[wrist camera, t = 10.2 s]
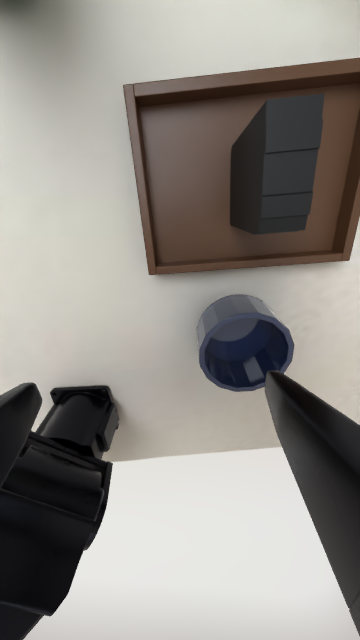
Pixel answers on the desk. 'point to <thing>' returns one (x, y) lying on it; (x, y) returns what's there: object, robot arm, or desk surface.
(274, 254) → the tray
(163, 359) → the desk surface
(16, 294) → the desk surface
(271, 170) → the ink cartridge
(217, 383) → the cup
